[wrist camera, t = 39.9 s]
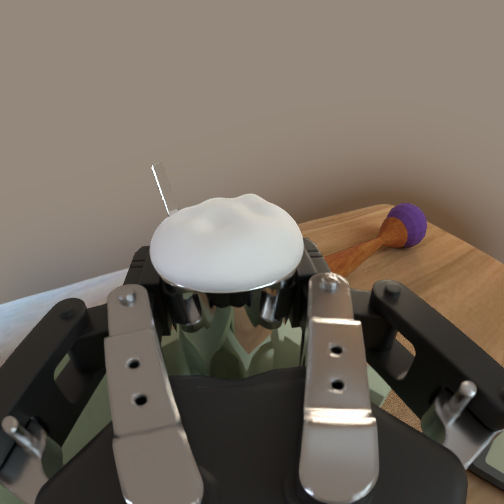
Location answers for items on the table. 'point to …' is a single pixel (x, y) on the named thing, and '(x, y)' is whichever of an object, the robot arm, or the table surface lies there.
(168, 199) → the milkshake
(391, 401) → the table surface
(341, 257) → the kendama
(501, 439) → the calculator
